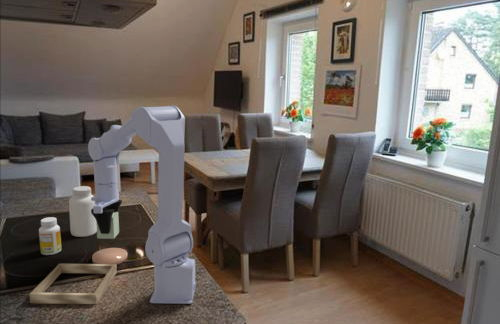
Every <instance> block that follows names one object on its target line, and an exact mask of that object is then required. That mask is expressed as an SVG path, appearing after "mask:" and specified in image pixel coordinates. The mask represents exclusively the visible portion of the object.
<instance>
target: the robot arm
mask: <svg viewBox="0 0 500 324" xmlns="http://www.w3.org/2000/svg"><path fill="white" fill-rule="evenodd" d="M130 115H131V116H130V117H129V118H128V119H127V121H126V122H125V123H123V124H122V125H118V124H113V125H111V126H110V129H109V130H108V131H106V132H103V134H102V135H101V136H100V137H91V138H90V140H89V142H88V144H87V150H88V154H89V157H90V158H91V159H92V160H93V161H92V162H93V177H94V181H93V182H94V195H93V197H92V198H91V201H95V205H94V206H93V209H92V210H91V213H92V215H93V216H94V217H95V219H96V221H97V223H98V226H99V229H100V232H101V234H109V232H110V227H111V218H112V215H113V212H118V213H119V210H120V207H121V205H122V203H123V200H122V199H120V197H119V196H120V195H119V194H120V192H119V191H120V190H118V189H119V188H118V167H117V165H118V164H119V161H120V160H119V158H120V155H121V151H123V150H124V149H126V148H127V147H128V146H129V145H130V144H131V143H132V138H134V137H135V136H137V135H138V137H140V138H141V140H143V141H144V142H145V143H146V144H147V145H148V146H150V147H152V148H153V149H155V150H156V151H157V152H158V181H157V182H158V183H157V219H156V221H155V222H154V223H153V225H152V226H151V227H150V229H148V232H147V233H148V236H147V240H146V241H145V247H144V248H145V249H144V251H145V254H146V257H147V259H148V260H149V261H150V262H151V263H152V264H153V268H154V269H153V271H154V273H153V274H154V275H153V277H154V279H153V281H154V290H153V291H152V295H151V297H150V300H149V303H150V304H176V305H177V304H180V305H181V304H184V305H185V304H188V305H189V304H192V303H193V301H194V300H193V299H194V296H195V291H196V287H197V282H196V259H193V258H189V254H190V252H192V250H193V248H194V238H193V234H192V226H191V224H189V222H187V221H186V220H184V219H183V201H184V200H183V198H184V178H185V175H184V174H185V172H184V171H185V151H186V149H185V146H186V145H185V131H186V130H185V127H186V116H184V114H183V113H182V111H181V109H180V108H179V107H178V106H176V105H173V104H172V105H165V106H164V105H163V106H145V107H144V106H138V107H136V108H135V109H134V110H132V111H131V113H130Z"/></svg>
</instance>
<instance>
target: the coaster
mask: <svg viewBox="0 0 500 324" xmlns="http://www.w3.org/2000/svg"><path fill="white" fill-rule="evenodd" d="M127 254H128V253H127V251H126V250H125V249H124V248H120V247H108V248H103V249H100V250H98V251H95V252H94V253H93V254H92V257H91V259H92V264H116V265H119V264H122V263H123V262H124V261H126V260H127V257H128V256H127Z"/></svg>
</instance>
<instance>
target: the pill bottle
mask: <svg viewBox="0 0 500 324" xmlns="http://www.w3.org/2000/svg"><path fill="white" fill-rule="evenodd" d="M93 196H94V195H93V194H92V188H91V187H90V186H87V185H82V186H76V187H73V189H72V196H70V198H69V200H68V207H69V209H68V210H69V226H70V227H69V228H70V234H71V236H74V237H76V238H77V237H78V238H79V237H80V238H83V237H90V236H92V235H94V234H97V224H96V219H95V217H94V216H93V215H92V213H91V210H92V209H93V206H94V205H95V201H91V198H92V197H93Z"/></svg>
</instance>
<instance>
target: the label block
mask: <svg viewBox="0 0 500 324" xmlns="http://www.w3.org/2000/svg"><path fill="white" fill-rule="evenodd" d="M119 221H120V220H119V211H118V212H113V215H112V218H111V227H110V232H109V234H101V232H100V229H99V226H98V223H97V221H96V224H97V232H96V238H97V239H101V240H102V239H105V240H107V239H109V240H114V239H115V238H117V236H118V235H119V233H120V223H119Z"/></svg>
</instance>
